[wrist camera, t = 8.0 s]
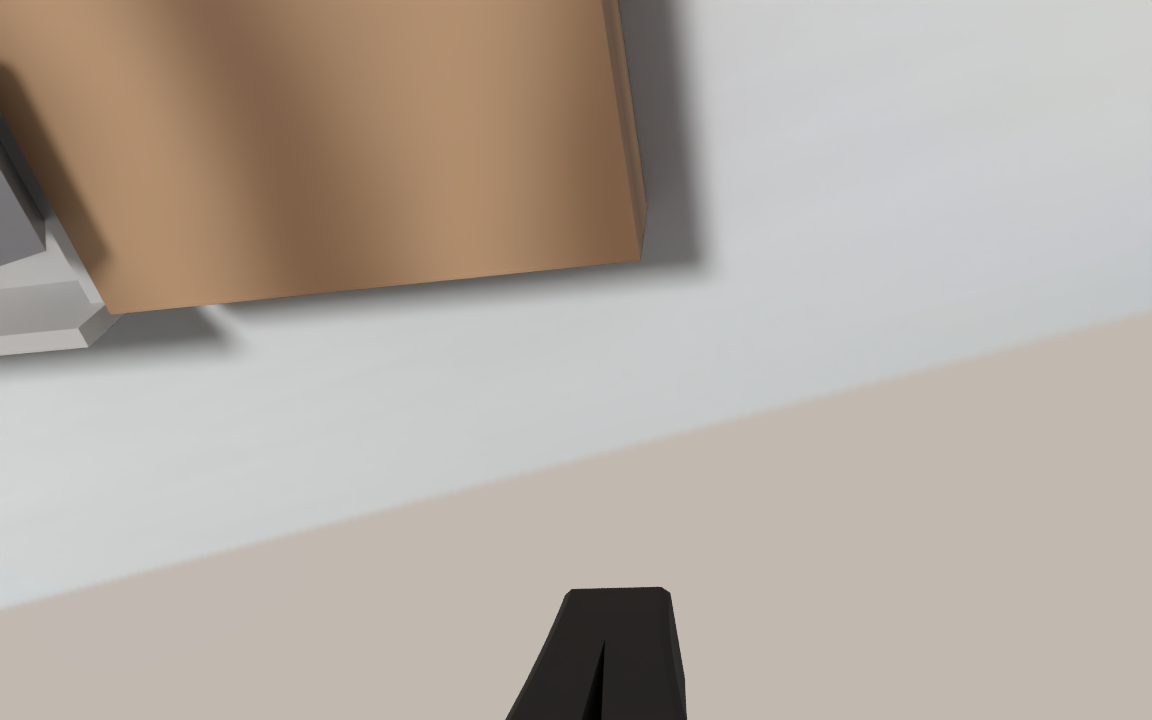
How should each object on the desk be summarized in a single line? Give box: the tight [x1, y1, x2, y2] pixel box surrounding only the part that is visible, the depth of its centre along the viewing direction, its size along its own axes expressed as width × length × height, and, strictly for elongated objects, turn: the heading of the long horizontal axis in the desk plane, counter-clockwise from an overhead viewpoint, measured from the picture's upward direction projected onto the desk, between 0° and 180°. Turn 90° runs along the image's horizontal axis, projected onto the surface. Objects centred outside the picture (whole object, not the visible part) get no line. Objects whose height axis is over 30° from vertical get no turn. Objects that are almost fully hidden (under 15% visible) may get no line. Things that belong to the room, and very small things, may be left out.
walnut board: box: [0, 0, 647, 315], centre depth 17 cm, size 12×8×2 cm, turn 101°
